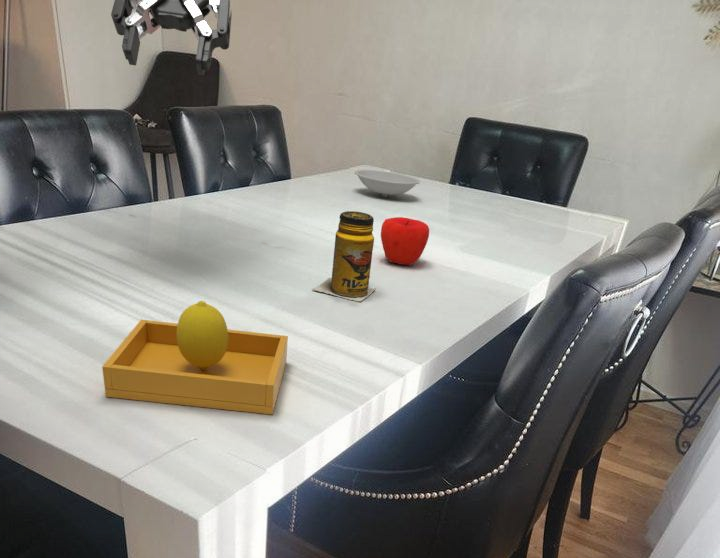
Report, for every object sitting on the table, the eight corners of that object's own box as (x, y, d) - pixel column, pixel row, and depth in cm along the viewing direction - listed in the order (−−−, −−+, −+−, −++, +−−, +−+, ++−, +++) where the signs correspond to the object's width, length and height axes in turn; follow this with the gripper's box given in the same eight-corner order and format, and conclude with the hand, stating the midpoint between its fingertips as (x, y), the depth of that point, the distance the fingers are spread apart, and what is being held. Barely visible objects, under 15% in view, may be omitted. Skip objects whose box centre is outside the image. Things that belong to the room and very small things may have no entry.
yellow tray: (105, 397, 68) (102, 366, 66) (143, 346, 79) (141, 319, 77) (272, 414, 69) (273, 385, 67) (286, 362, 80) (287, 335, 78)
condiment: (360, 302, 102) (369, 223, 95) (311, 290, 104) (317, 212, 97) (376, 290, 107) (385, 214, 101) (329, 279, 109) (335, 204, 103)
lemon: (228, 360, 77) (227, 294, 72) (228, 381, 72) (228, 312, 68) (179, 358, 75) (176, 291, 71) (176, 379, 71) (173, 309, 66)
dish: (344, 194, 170) (346, 173, 167) (362, 186, 181) (364, 167, 179) (409, 206, 166) (412, 186, 163) (422, 198, 178) (425, 178, 175)
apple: (383, 269, 118) (389, 224, 114) (372, 254, 125) (377, 212, 121) (429, 271, 120) (437, 227, 116) (416, 257, 127) (423, 215, 123)
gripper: (119, -81, 79) (97, 30, 76) (235, -64, 80) (218, 47, 77) (136, -23, 87) (116, 80, 84) (242, -9, 88) (226, 95, 85)
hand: (165, 64), depth 80 cm, fingers open, 8 cm apart
